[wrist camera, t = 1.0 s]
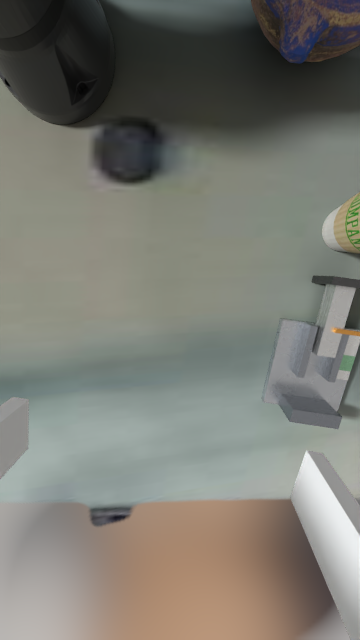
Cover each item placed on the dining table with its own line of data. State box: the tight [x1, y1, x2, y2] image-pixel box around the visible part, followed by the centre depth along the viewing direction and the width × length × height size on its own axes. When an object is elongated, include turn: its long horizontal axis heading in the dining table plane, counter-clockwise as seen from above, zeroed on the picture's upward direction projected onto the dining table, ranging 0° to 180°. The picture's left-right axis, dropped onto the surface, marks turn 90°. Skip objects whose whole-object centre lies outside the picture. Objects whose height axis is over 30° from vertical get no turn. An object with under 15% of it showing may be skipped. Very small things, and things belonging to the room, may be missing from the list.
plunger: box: [311, 276, 360, 358], centre depth 32 cm, size 11×8×5 cm
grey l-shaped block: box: [262, 318, 360, 429], centre depth 35 cm, size 14×12×6 cm
